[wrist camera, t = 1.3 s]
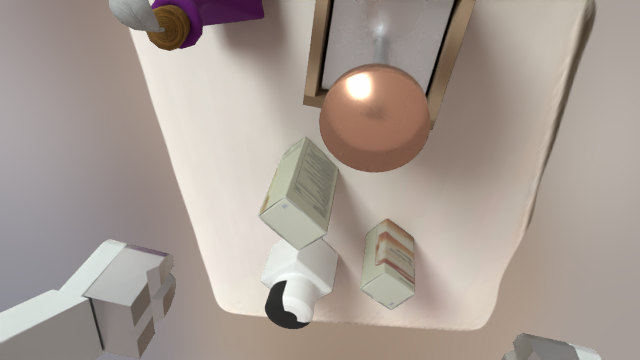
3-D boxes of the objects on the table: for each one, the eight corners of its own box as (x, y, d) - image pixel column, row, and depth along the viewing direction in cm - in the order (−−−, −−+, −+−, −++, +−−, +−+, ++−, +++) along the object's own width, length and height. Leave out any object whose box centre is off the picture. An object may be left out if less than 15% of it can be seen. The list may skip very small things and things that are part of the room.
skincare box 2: (415, 237, 54) (418, 295, 46) (392, 253, 57) (391, 312, 48) (386, 215, 53) (384, 271, 45) (364, 233, 56) (358, 290, 47)
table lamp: (338, -24, 27) (299, 21, 16) (453, -3, 27) (491, 57, 16) (322, 85, 32) (282, 178, 21) (420, 104, 31) (432, 209, 20)
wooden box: (344, -57, 37) (321, -42, 25) (454, -38, 36) (480, -14, 25) (328, 51, 42) (302, 104, 31) (422, 69, 42) (432, 130, 30)
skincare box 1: (282, 154, 50) (253, 214, 40) (306, 134, 48) (282, 193, 38) (316, 188, 53) (297, 253, 42) (341, 170, 50) (327, 235, 40)
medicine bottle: (305, 273, 62) (287, 342, 52) (272, 245, 60) (247, 311, 50) (339, 254, 58) (328, 323, 49) (305, 223, 56) (286, 289, 46)
